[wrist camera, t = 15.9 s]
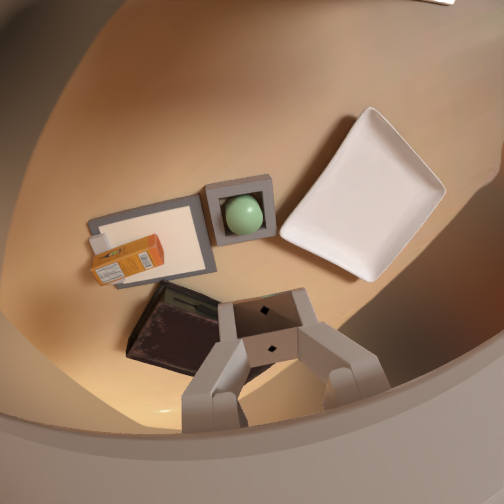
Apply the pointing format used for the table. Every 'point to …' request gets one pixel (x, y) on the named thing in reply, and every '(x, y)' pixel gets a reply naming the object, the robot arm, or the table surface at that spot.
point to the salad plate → (365, 200)
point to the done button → (243, 214)
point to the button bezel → (237, 188)
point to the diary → (178, 331)
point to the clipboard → (160, 238)
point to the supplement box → (127, 260)
